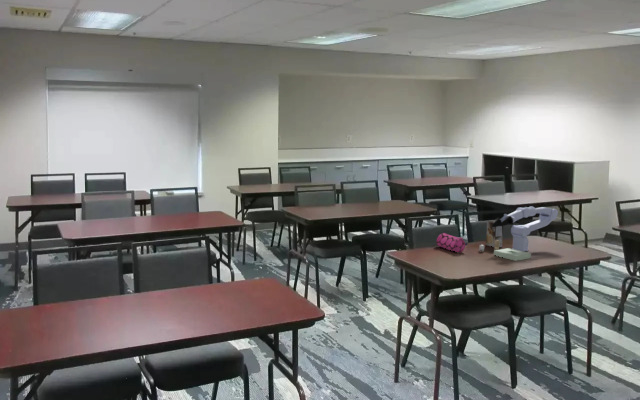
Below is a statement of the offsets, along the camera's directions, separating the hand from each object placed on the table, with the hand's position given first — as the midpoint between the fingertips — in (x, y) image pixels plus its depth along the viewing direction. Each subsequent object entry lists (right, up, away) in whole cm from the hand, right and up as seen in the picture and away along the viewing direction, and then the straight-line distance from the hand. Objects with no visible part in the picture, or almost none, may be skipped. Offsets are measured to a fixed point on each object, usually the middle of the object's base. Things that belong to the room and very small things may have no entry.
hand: (497, 225), depth 348 cm
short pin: (-7, -17, +8) cm, 20 cm away
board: (+7, -19, -5) cm, 21 cm away
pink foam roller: (-26, -16, +12) cm, 33 cm away
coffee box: (+5, -15, +25) cm, 29 cm away
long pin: (+2, -17, +8) cm, 19 cm away
